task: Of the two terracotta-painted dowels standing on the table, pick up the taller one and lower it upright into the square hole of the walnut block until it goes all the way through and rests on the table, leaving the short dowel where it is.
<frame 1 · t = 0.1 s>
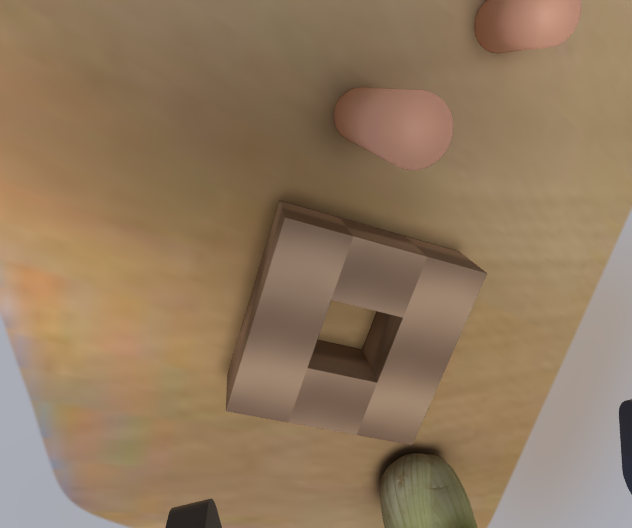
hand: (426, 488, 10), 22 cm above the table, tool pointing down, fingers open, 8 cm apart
walnut block: (342, 313, 33), on the table
long dowel: (359, 115, 29), on the table
fennel bulb: (406, 468, 39), on the table
short dowel: (500, 23, 29), on the table
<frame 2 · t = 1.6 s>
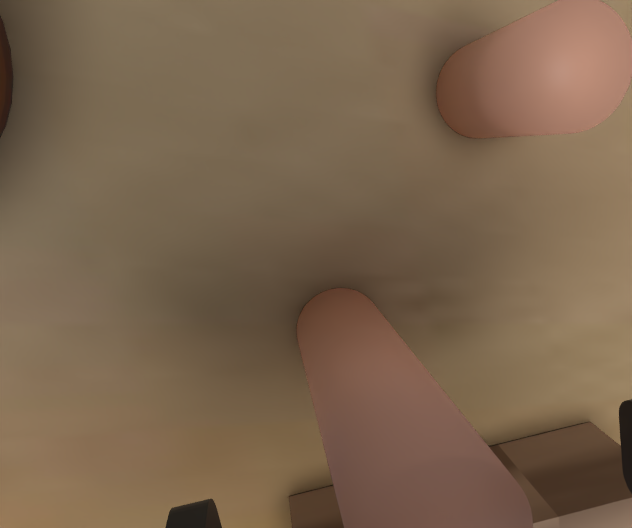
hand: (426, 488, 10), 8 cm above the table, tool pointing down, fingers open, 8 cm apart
long dowel: (339, 329, 18), on the table
short dowel: (480, 91, 17), on the table
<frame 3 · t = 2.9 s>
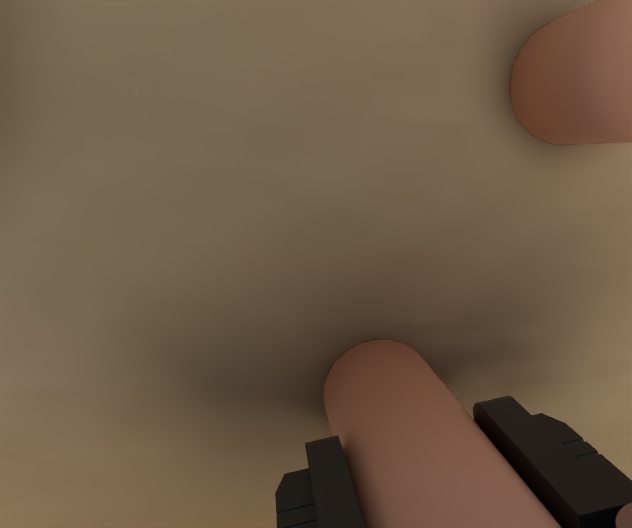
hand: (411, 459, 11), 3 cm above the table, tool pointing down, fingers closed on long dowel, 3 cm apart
long dowel: (378, 392, 14), on the table, touching gripper
short dowel: (568, 82, 13), on the table
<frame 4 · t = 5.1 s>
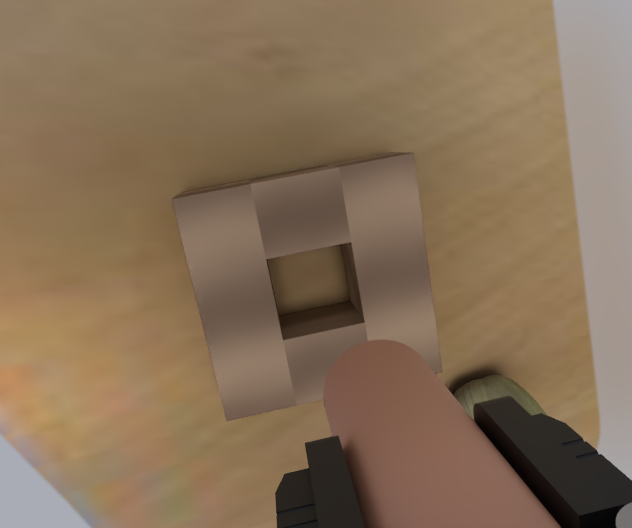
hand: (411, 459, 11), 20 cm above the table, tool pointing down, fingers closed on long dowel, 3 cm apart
walnut block: (308, 273, 30), on the table
long dowel: (378, 392, 14), point 17 cm above the table, touching gripper
fennel bulb: (471, 403, 34), on the table
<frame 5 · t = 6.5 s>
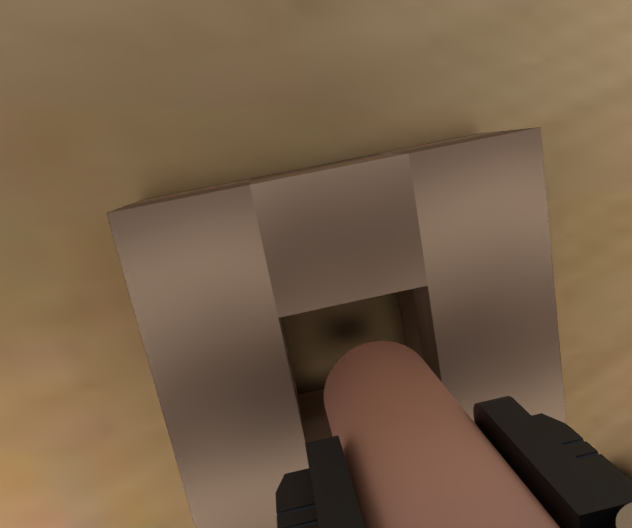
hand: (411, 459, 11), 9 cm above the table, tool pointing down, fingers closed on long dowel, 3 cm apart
walnut block: (344, 327, 19), on the table
long dowel: (378, 393, 14), point 5 cm above the table, touching gripper
when the fingers open (5 cm above the table, at t = 7.5 s): long dowel drops 1 cm, resting in walnut block.
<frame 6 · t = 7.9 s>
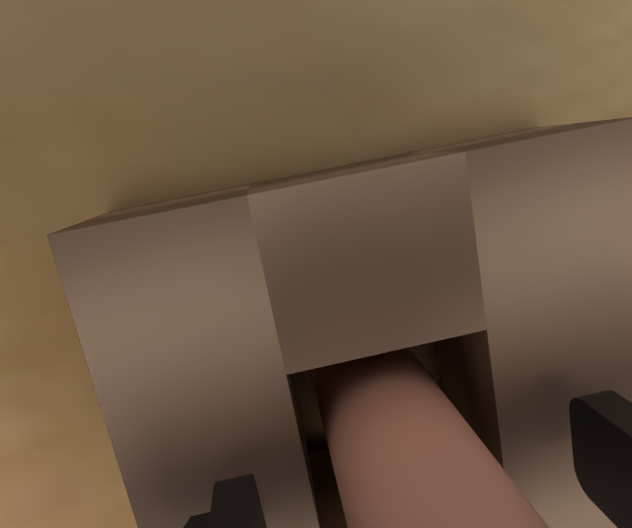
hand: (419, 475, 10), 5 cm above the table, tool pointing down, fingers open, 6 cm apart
walnut block: (366, 370, 15), on the table
long dowel: (362, 370, 15), resting in walnut block
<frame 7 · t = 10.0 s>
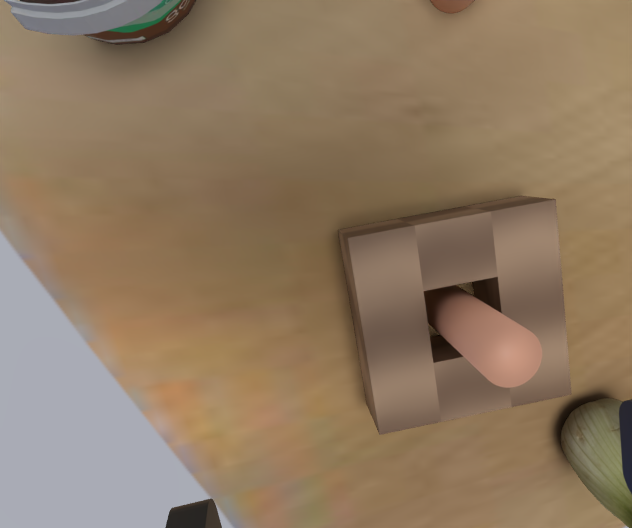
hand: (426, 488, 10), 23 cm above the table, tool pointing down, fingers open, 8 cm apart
walnut block: (442, 302, 34), on the table
long dowel: (440, 302, 34), resting in walnut block
fennel bulb: (581, 424, 37), on the table
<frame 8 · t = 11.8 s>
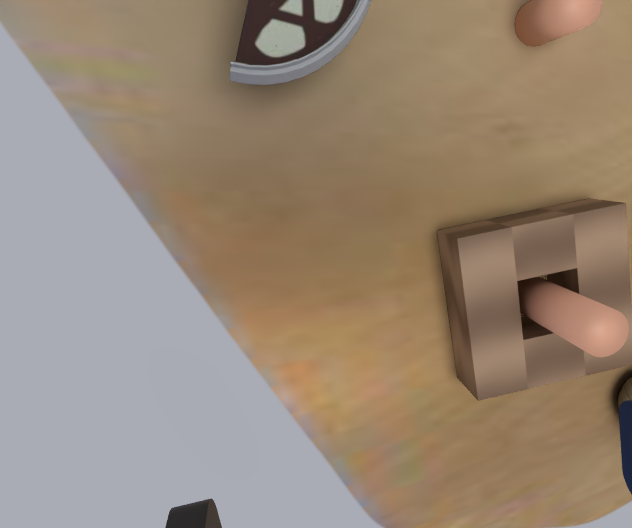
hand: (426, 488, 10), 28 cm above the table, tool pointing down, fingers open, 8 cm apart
walnut block: (521, 290, 40), on the table
long dowel: (519, 290, 40), resting in walnut block
food container: (302, 18, 34), on the table
short dowel: (535, 23, 36), on the table
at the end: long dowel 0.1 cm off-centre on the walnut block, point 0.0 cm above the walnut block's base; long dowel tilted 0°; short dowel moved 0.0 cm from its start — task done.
